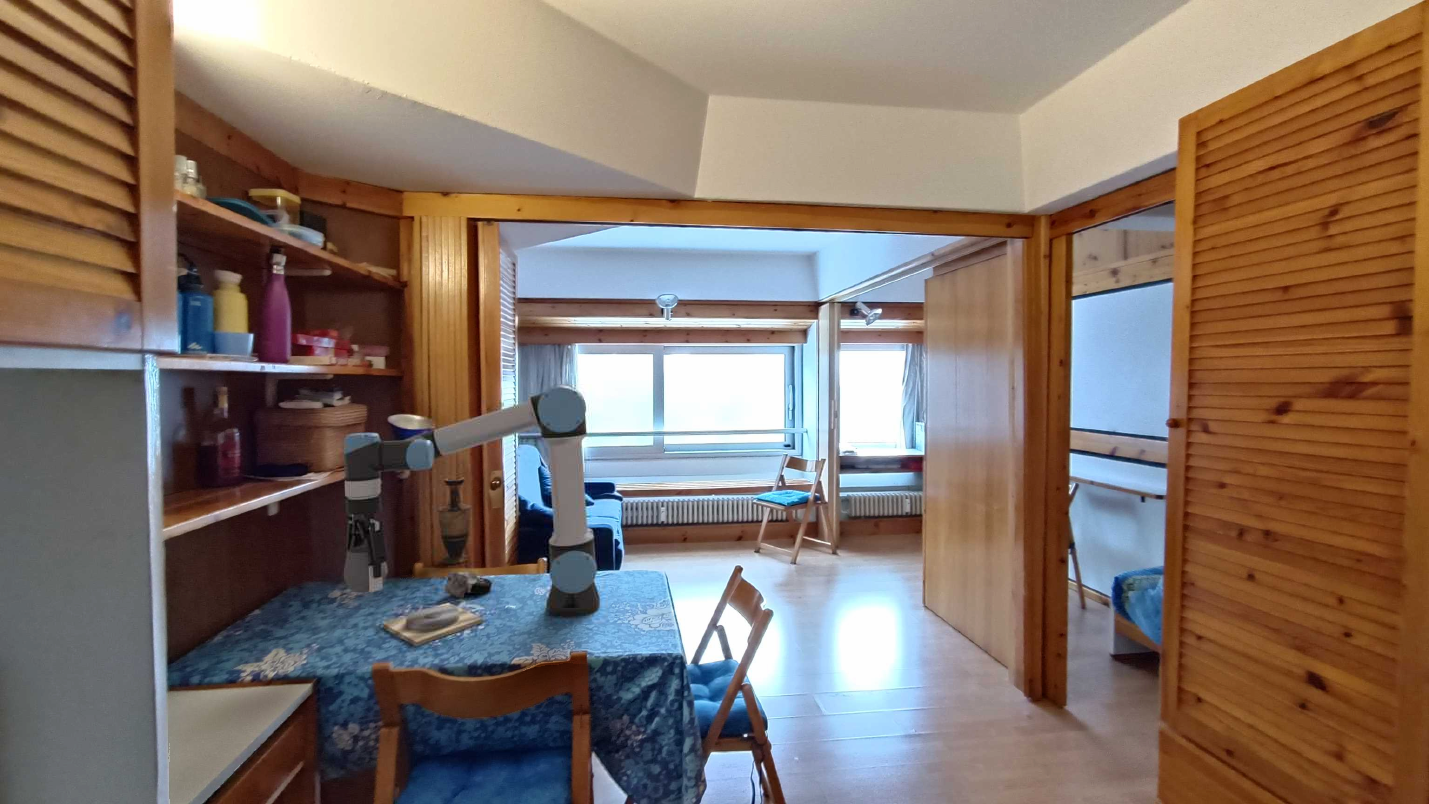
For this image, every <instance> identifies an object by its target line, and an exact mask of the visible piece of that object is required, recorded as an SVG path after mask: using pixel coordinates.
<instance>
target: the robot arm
mask: <svg viewBox="0 0 1429 804" xmlns="http://www.w3.org/2000/svg"><path fill="white" fill-rule="evenodd" d="M586 404H587V403H586V400H585V397H584V396H583V395H582V393H581V392H580V391H579V390H578V389H576V388H575V387H573V386H571V385H567V384H558V385H553V386H551V387H550V388H547V389H546V390H545V391H543V392H541V393H538V394H536V395H533V396H529V397H528V399H527V401H524V402H521V403H519V404H516V405H512V406H508V407H506V408H505V407H504V408H502V409H499V410H496V411H492V412H489V413H486V414H483V415H479V416H475V417H473V418H469V419H465V420H462V421H459V422H456V423H453V424H449V425H446V426H443V427H440V428H436V429H433V430H430V431H426V432H423V433H419V434H415V435H412V436H410V437H409V438H406V439H403V440H402V439H401V440H399V439H398V440H381V438H380V435H379V433H377V432H357V433H351V434H347V435H346V436H345V437H344V439H343V440H344V441H343V444H344V445H343V459H344V460H343V461H344V463H343V464H344V495H345V497H347V498H346V500H345V513H346V514H347V516H346V520H347V521H346V522H347V523H346V524H347V527H346V537H345V538H346V540H345V541H346V542H345V553H346V554H347V551H348V550H349V549H351V548H354V547H357V546H362V545H366V548H367V551H368V555H369V559H370V563H369V564H368V567H369V591H368V592H369V593H374V592H378V591H382V590H383V588H384V587H383V583H384V582H383V583H382V563H383V562H386V563H387V561H388V559H387V552H386V546H385V538H384V530H383V527H384V525H383V524H384V523H383V521H382V520H378V521H377V518H376V513H378V512H380V511H381V510H382V508H383V507H382V505H383V504H382V496H381V495H380V494H381V493H382V491H381V490H382V489H381V486H382V485H381V484H383V481H382V480H381V476H382V475H381V472H394V471H395V472H397V471H402V472H403V471H415V472H417V471H422V470H429V469H431V468H432V467H433V464H434V462H435V461H434V460H436V459H440V458H442V457H445V456H448V455H451V454H454V453H458V452H460V451H461V452H462V451H465V450H467V449H470V448H474V447H476V446H479V445H484V444H487V443H490V442H492V441H496V440H499V439H502V438H507V437H509V436H512V435H515V434H516V435H517V434H519V433H521V432H525V431H529V430H531V429H534V428H535V429H537V430H540V438H541V440H542V441H544V443H546V444H547V451H548V464H549V477H550V493H551V507H552V522H553V532H552V533H551V538H549V540H548V546H549V561H550V562H549V563H550V564H549V565H550V568H549V577H550V578H549V579H550V580H551V586H550V588H549V593H548V596H547V599H546V601H545V602H546V605H545V610H546V612H547V613H548V615H551V616H554V617H558V618H576V617H577V618H578V617H582V616H587V615H590V614H592V613H594V612H596V611H597V610H598V609H599V608H600V606H601V600H600V595H599V591H598V589H597V585H596V583H595V578H596V576H597V572H598V566H597V565H598V564H597V562H596V550H595V548H596V547H595V536H594V531H593V529H592V528H589V527H588V522H587V521H588V519H587V518H588V517H587V506H586V504H587V503H586V490H585V475H584V464H583V463H584V462H583V461H584V460H583V446H582V442H583V440H584V439H585V438H586V437H587V432H588V431H587V422H586V421H587V417H586V413H587V405H586Z"/></svg>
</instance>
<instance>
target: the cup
mask: <svg viewBox="0 0 1429 804" xmlns="http://www.w3.org/2000/svg"><path fill="white" fill-rule="evenodd" d="M344 562H345V563H344V569H343V580H344V582H345V583H346V585H347V586H348V588H349V589H350V590H351V592H354V593H367V592H369V567H368V564H369V563H370V559H369V555H368V551H367V548H366V544H363V545H362V546H357V547H354V548H351V549H349V550H348V551H347V553H346V558H345V561H344ZM388 571H389V570H388V565H387V561H386V562H383V563H382V583H384V581H385V578H386V577H387V575H388Z"/></svg>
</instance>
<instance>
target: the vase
mask: <svg viewBox="0 0 1429 804" xmlns="http://www.w3.org/2000/svg"><path fill="white" fill-rule="evenodd" d="M451 478H452V477H448V478H444V479H443V481H444V484H445V485H446V486H447V487H448V489H449V499H448V503H447V504H446V505H442V506H443V507H442V506H440V507H438V509H437V511H438V513H437V514H438V522H439V531H440V538H441V541H442V545H443V546H444V548H445V550H446V552H447V554H448V555H447V556H444V557H443V558H442V563H443V564H445V565H458V564H462V563H464V562H465V563H466V562H467V561H468V559H469V556H468V555H466V554H463V553H464V551H465V548H466V547H467V546H466V545H467V544H468V540H469V535H470V530H471V529H470V525H471V509H472V507H471V505H470V504H466V503H463V502H462V501H461V495H460V493H461V491H460V490H461V486H462V485H463V484H464V482H465V480H466V478H465V477H463V478H460V479H457V480H450V479H451ZM462 554H463V555H462Z"/></svg>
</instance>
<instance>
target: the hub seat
mask: <svg viewBox="0 0 1429 804" xmlns="http://www.w3.org/2000/svg"><path fill="white" fill-rule="evenodd" d="M483 621H484V620H483V617H481V616H478V615H476V614H474V613H472V612H469V611H467V610H464V609H463V608H460V607H458V606H456V605H454V604H451V603H449V602H447V603H443V604H440V605H437V606H430V607H427V608H422V609H419V610H416V611H415V612H413V613H411V614H407V615H405V616H401V617H398V618H394V619H393V620H388V621H385V622H383V623H382V628H383V629H384V630H386V631H388V632H390V633H392V634H394V635H395V636H397V637H399V638H401V639H402V640H404V641H405V642H407V643H409V644H411V645H413V646H415V647H419V646H422V645H425V644H426V643H429V642H432V641H435V640H437V639H440V638H443V637H446V636H449V635H452V634H455V633H457V632H461V631H464V630H465V629H469V628H472V627H474V626H475V627H476V626H478V625H480V624H482V623H483Z"/></svg>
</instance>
